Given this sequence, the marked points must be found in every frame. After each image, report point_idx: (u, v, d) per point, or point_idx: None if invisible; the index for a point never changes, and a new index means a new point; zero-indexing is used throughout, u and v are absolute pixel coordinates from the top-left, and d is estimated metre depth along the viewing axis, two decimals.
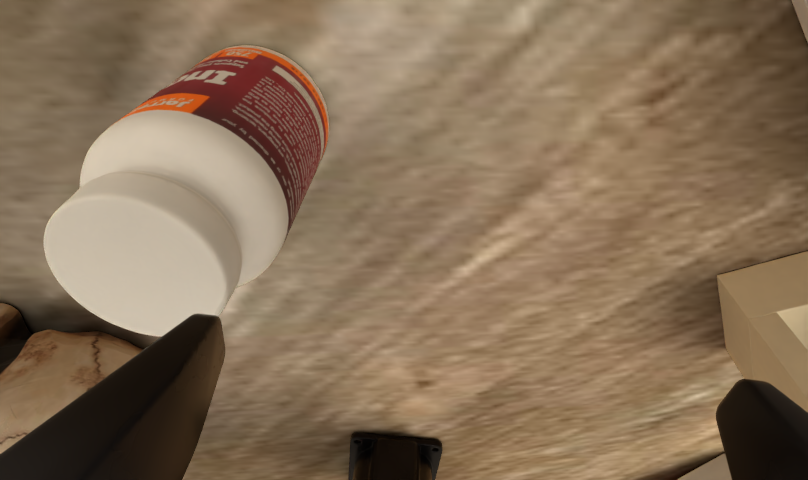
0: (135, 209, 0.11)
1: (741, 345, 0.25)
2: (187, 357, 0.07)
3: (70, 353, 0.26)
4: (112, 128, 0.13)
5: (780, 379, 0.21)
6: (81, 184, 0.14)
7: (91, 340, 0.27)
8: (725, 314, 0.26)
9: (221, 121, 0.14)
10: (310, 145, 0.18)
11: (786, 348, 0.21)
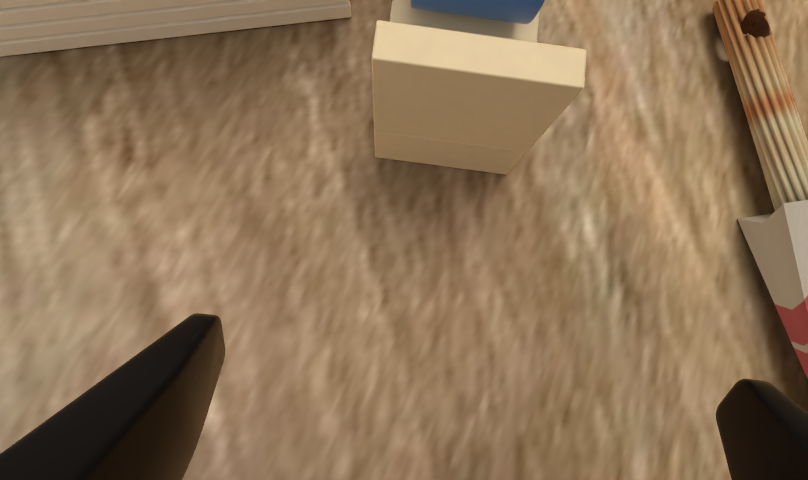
0: None
1: (448, 150, 0.20)
2: (187, 357, 0.07)
3: None
4: None
5: (408, 107, 0.16)
6: None
7: None
8: (429, 160, 0.22)
9: None
10: None
11: None
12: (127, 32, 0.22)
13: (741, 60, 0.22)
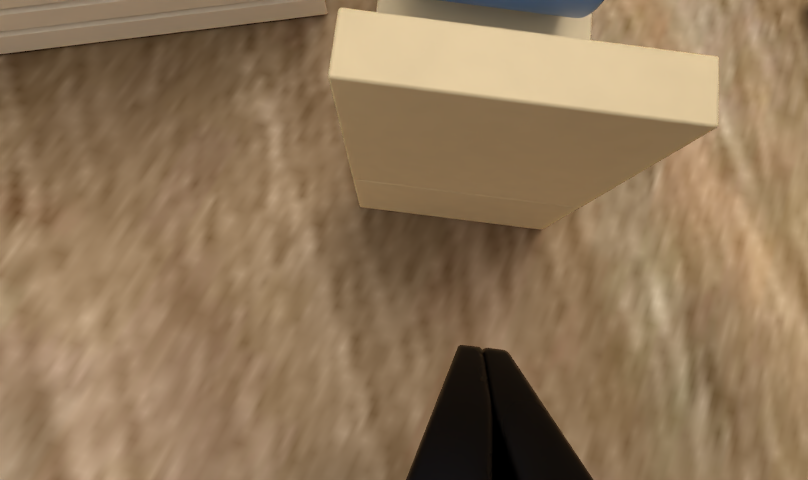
0: None
1: (462, 203, 0.14)
2: (488, 393, 0.07)
3: None
4: None
5: (400, 151, 0.10)
6: None
7: None
8: (434, 212, 0.15)
9: None
10: None
11: None
12: (15, 38, 0.16)
13: None
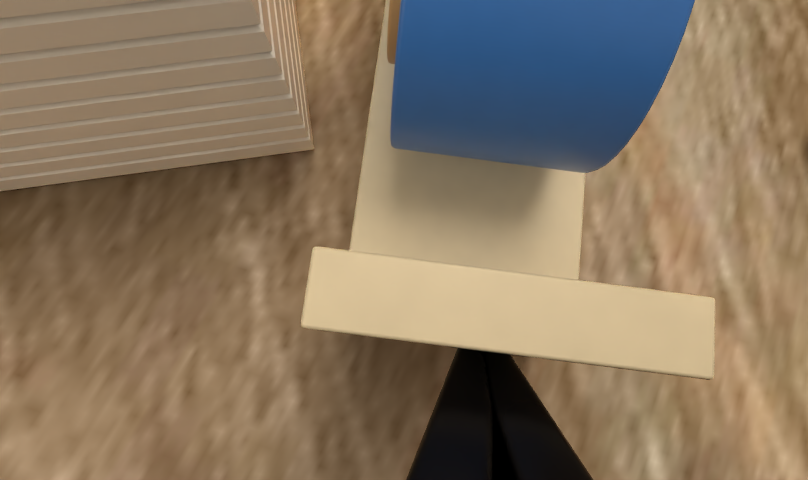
0: None
1: None
2: (489, 393, 0.07)
3: None
4: None
5: None
6: None
7: None
8: None
9: None
10: None
11: None
12: None
13: None
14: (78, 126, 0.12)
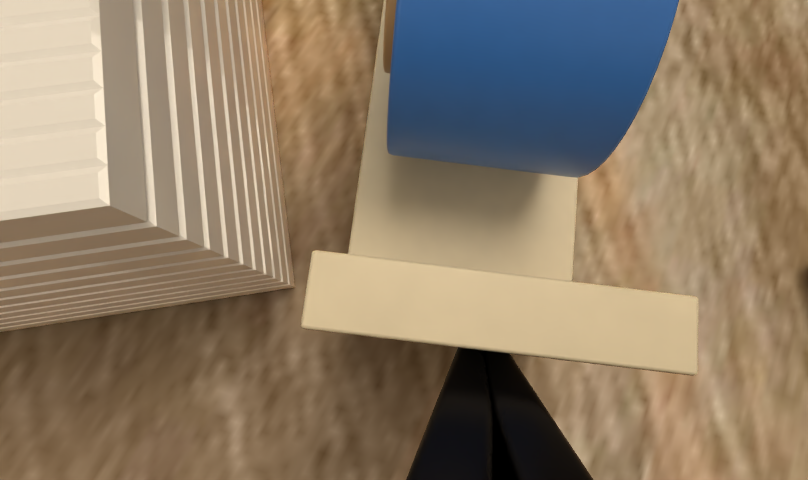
0: None
1: None
2: (488, 393, 0.07)
3: None
4: None
5: None
6: None
7: None
8: None
9: None
10: None
11: None
12: None
13: None
14: (43, 308, 0.12)
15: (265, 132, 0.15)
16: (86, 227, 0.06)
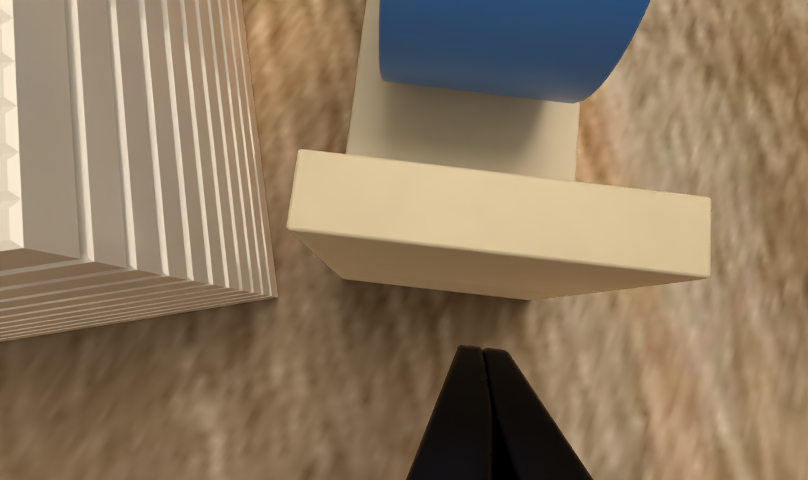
0: None
1: (446, 285, 0.13)
2: (488, 393, 0.07)
3: None
4: None
5: (375, 263, 0.10)
6: None
7: None
8: (419, 286, 0.15)
9: None
10: None
11: None
12: None
13: None
14: (2, 329, 0.11)
15: (243, 134, 0.14)
16: (7, 267, 0.05)
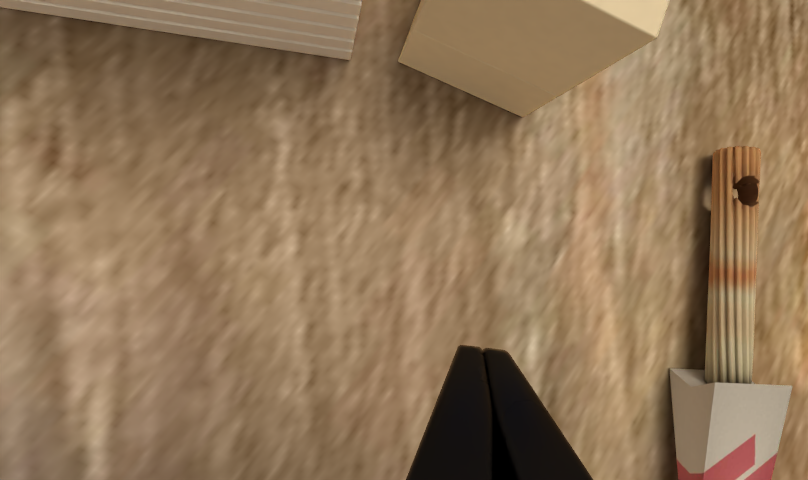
0: None
1: (479, 74, 0.19)
2: (488, 393, 0.07)
3: None
4: None
5: (464, 10, 0.15)
6: None
7: None
8: (452, 80, 0.20)
9: None
10: None
11: None
12: (79, 11, 0.18)
13: (722, 220, 0.22)
14: None
15: None
16: None
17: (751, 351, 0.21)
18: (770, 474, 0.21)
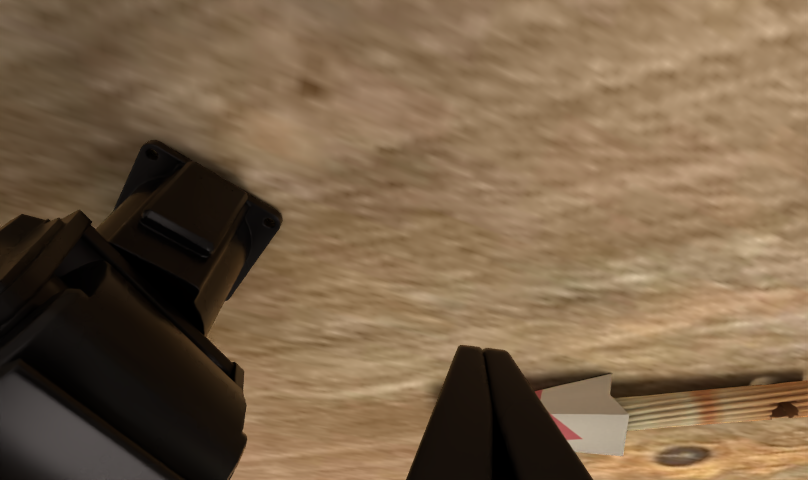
0: None
1: None
2: (488, 393, 0.07)
3: None
4: None
5: None
6: None
7: None
8: None
9: None
10: None
11: None
12: None
13: (753, 397, 0.26)
14: None
15: None
16: None
17: None
18: None
